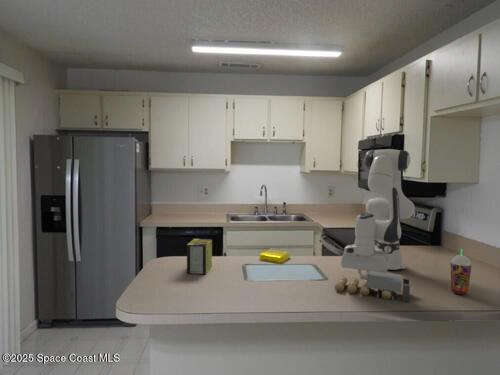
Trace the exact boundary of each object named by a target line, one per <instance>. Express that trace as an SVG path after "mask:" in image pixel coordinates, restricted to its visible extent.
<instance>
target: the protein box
mask: <svg viewBox="0 0 500 375" xmlns="http://www.w3.org/2000/svg"><path fill="white" fill-rule="evenodd" d="M212 256H213V239H210V238H208V239H207V238H193V239H192V240H190V242H188V243H187V244H186V274H190V275H207V273H208V272H209V270H211V268H212V267H213V266H212V265H213V257H212Z"/></svg>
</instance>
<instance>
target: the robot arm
mask: <svg viewBox="0 0 500 375" xmlns="http://www.w3.org/2000/svg"><path fill="white" fill-rule="evenodd" d="M410 164H411V156H410V153H409V151H407V150H403V149H400V150H399V149H391V148H387V149H370V150H368V151H367V152H366V153H365V156H364V165H365V167H366V168H367V169H369V171H368V172H369V173H368V179H367V187H368V189H369V191H370V192H371V193H373V195H376V196H378V197H375V198H370V199H368V200H367V202H366V203H365V204H366V205H365V211H366V212H363V213H359V214H358V215H357V216H356V219H355V226H354V234H355V240H354V244H348V245H346V246H345V247H344V249H343V250H344V252H343V254H342V257H341V263H340V266H341V267H342V268H344V269H352V270H353V269H354V270H357V273H358V274H359V279H360V280H363V281H364V280H367V276H368V274H369V273H370V271H373V272H381V273H387V272H388V271H389V270H395V271H396V270H400V269H406V266H405V264H404V263H403V253H402V252H401V251H400V250H401V245H400V239H401V236H402V227H401V220H402V219H410V218H411V217H413V215H414V214H415V212H416V211H415V210H416V209H415V208H416V207H415V204H414V202H412V200H410V199H409V198H408V197H406V196H405V194H404V192H403V189H402V171H406V170H407V169H408V168H409V166H410ZM375 241H376V242H377V243H376V242H375ZM376 247H377V248H376ZM362 271H365V273H366V274H363V273H362Z"/></svg>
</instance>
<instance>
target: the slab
mask: <svg viewBox="0 0 500 375" xmlns="http://www.w3.org/2000/svg"><path fill="white" fill-rule="evenodd" d="M402 277H403V275H402V274H396V273H387V272H386V273H384V272H376V271H370V273H369V274H368V276H367V287H368V288H370V289H377V290H378V289H380V290H389V291H394V292H396V293H397V292H398V293H402V284H403V278H402Z"/></svg>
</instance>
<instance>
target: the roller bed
mask: <svg viewBox="0 0 500 375" xmlns="http://www.w3.org/2000/svg"><path fill="white" fill-rule="evenodd" d="M347 282H348V278H347V277H345V276H344V275H343V276H340V277H339V279H338V281H337V282H336V284H335V286H334V290H335V291H336V292H337V293H342V292H343V291H344V289H345V287H346V285H347ZM359 284H360V280H359V279H358V278H356V277H352V279H351V280H350V282H349V284H348V286H347V288H346V289H347V292H348V293H349V294H350V295H355V294H356V293H357V292H356V291H357V290H358V287H359ZM370 290H371V288H368V287H367V280H363V281H362V284H361V286H360V289H359V292H360V295H361V296H363V297H366V296H368V295H369V294H370ZM380 292H381V289H377V293H376V298H377V299H379V297H380ZM394 297H395V291H392V292H391V298H390V299H391V301H394V299H395V298H394Z"/></svg>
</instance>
